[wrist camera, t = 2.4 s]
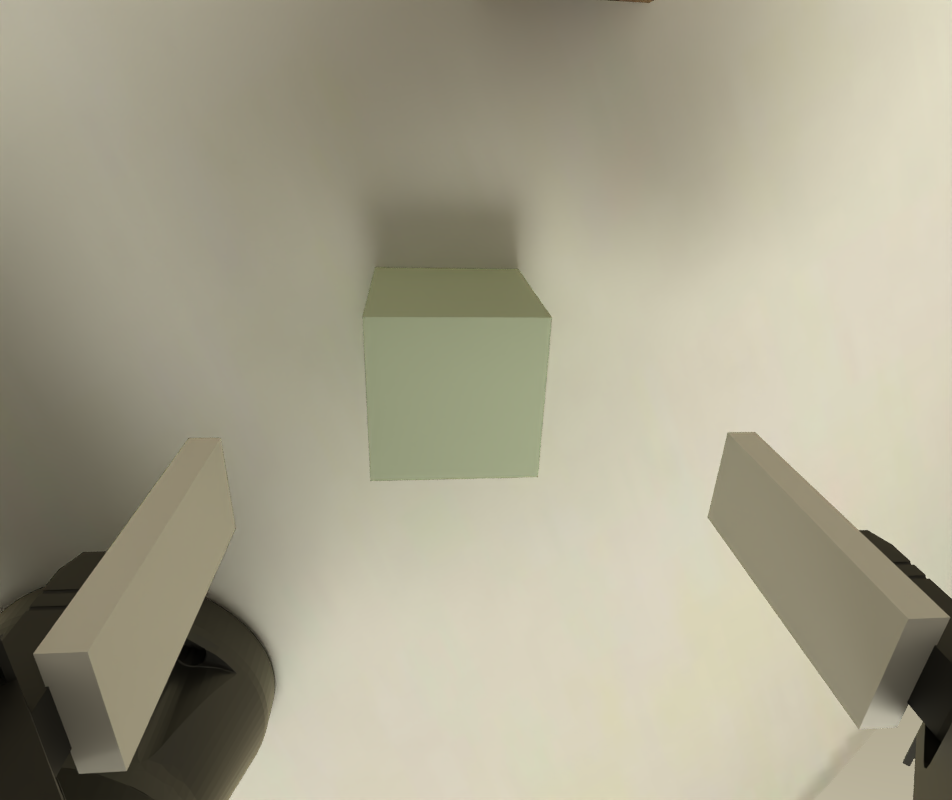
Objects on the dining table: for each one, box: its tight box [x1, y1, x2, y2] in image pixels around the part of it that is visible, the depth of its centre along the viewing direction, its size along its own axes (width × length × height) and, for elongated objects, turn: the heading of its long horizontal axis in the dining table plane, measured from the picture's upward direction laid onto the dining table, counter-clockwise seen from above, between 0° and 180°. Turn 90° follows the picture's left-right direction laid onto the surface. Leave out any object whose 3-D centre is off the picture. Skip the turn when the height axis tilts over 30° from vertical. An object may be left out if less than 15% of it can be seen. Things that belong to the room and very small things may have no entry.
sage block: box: [363, 267, 552, 481], centre depth 24 cm, size 6×6×7 cm
